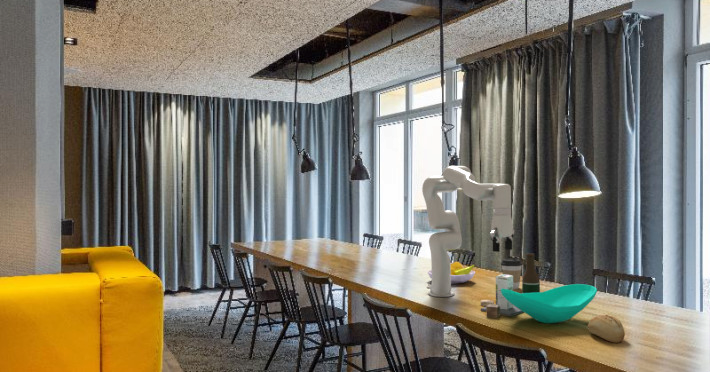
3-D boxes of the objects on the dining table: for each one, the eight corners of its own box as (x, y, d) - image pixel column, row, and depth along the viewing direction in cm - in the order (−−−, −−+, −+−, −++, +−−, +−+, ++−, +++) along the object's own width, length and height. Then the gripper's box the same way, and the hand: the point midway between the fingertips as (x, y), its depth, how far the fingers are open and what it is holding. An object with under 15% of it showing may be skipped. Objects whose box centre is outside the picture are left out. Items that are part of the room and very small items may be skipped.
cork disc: (477, 305, 257) (477, 301, 257) (485, 303, 261) (485, 299, 261) (489, 307, 252) (489, 303, 252) (496, 305, 257) (496, 301, 256)
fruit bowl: (418, 280, 323) (418, 261, 323) (457, 276, 335) (457, 257, 335) (446, 288, 298) (446, 267, 298) (487, 283, 309) (486, 263, 309)
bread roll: (602, 331, 209) (602, 310, 209) (633, 342, 194) (632, 319, 194) (581, 334, 206) (580, 312, 206) (610, 345, 192) (610, 322, 192)
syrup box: (501, 306, 249) (500, 273, 249) (513, 307, 245) (513, 275, 245) (495, 308, 245) (495, 275, 245) (508, 310, 241) (507, 276, 241)
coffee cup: (525, 289, 290) (525, 261, 290) (503, 290, 290) (503, 261, 290) (519, 285, 301) (519, 258, 301) (498, 286, 302) (498, 258, 302)
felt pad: (480, 310, 246) (480, 308, 246) (499, 305, 256) (499, 303, 256) (510, 316, 234) (510, 314, 234) (529, 310, 244) (529, 308, 244)
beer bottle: (528, 308, 247) (527, 254, 247) (518, 305, 255) (518, 252, 255) (543, 307, 249) (543, 254, 249) (533, 304, 257) (533, 252, 257)
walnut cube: (486, 317, 235) (486, 306, 235) (489, 314, 239) (489, 304, 238) (497, 318, 232) (497, 307, 232) (499, 315, 236) (499, 305, 236)
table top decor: (521, 333, 208) (520, 298, 208) (488, 316, 235) (487, 285, 235) (615, 326, 216) (614, 292, 216) (572, 310, 243) (572, 280, 243)
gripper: (505, 210, 255) (506, 247, 255) (483, 212, 243) (483, 251, 244) (520, 211, 249) (520, 249, 249) (498, 213, 238) (498, 253, 238)
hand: (502, 250), depth 246 cm, fingers open, 9 cm apart
